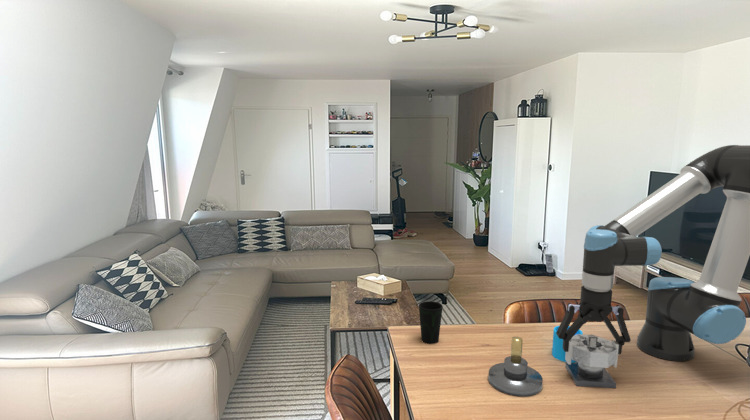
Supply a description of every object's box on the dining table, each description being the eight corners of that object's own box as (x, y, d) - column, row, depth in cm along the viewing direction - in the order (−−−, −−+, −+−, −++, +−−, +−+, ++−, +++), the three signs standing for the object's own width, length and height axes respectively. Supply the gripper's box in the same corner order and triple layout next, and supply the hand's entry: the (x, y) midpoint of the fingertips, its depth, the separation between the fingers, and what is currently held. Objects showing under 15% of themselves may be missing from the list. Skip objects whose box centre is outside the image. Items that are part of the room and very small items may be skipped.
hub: (535, 370, 128) (538, 329, 126) (548, 398, 114) (551, 352, 112) (485, 367, 130) (487, 326, 128) (492, 394, 116) (493, 349, 114)
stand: (601, 369, 129) (605, 329, 127) (615, 388, 119) (619, 345, 117) (565, 367, 130) (568, 328, 128) (576, 385, 120) (579, 343, 118)
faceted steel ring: (604, 348, 128) (605, 335, 128) (621, 368, 117) (622, 354, 117) (563, 346, 130) (564, 333, 129) (576, 365, 119) (577, 351, 118)
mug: (586, 362, 133) (588, 336, 131) (558, 363, 133) (560, 337, 131) (567, 344, 145) (569, 320, 143) (542, 344, 144) (544, 320, 143)
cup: (425, 333, 153) (426, 299, 151) (445, 339, 148) (446, 304, 146) (413, 341, 147) (414, 306, 145) (434, 347, 142) (435, 311, 140)
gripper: (637, 284, 123) (630, 359, 126) (547, 281, 126) (542, 354, 129) (650, 293, 115) (642, 373, 119) (554, 290, 118) (549, 367, 122)
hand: (590, 363), depth 124 cm, fingers closed on faceted steel ring, 11 cm apart
